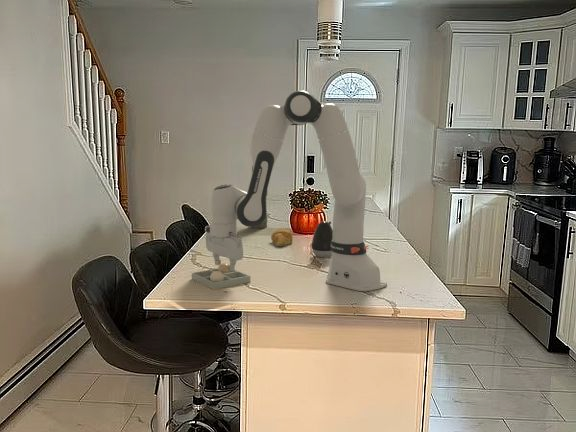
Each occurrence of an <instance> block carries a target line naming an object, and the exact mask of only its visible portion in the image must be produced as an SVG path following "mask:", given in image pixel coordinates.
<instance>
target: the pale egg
mask: <svg viewBox="0 0 576 432" xmlns="http://www.w3.org/2000/svg"><path fill="white" fill-rule="evenodd" d="M210 281H212V282H218V281H224V275H223V273H221V272H220V271H214V272H213V273H212V274H211V275H210Z"/></svg>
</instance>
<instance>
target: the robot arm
mask: <svg viewBox="0 0 576 432" xmlns="http://www.w3.org/2000/svg"><path fill="white" fill-rule="evenodd" d="M284 102H285V103H284V104H283V105H276V104H268V105H265V106H264V107H263V108H262V109H261V111H260V113H259V116H258V118H257V120H256V123H255V125H254V129H253V132H252V135H251V141H250V149H249V150H250V155H251V159H252V166H253V172H252V171H251V177H250V181H249V185H248V189H247V191H244V190H242V189H240V188H238V187H236V186H235V185H234V184H230V183H228V184H222V185H218V186H216V187H215V188H214V189H213V190H212V194H211V206H210V207H211V213H212V217H211V218H212V219H211V224H210V225H206V226H204V227H205V228H204V232H206V233H205V247H206V250H207V251H208V252H211V253H212V257H213V260H214V265H215V266H220V265H221V264H222V263H221V262H222V260H221V259H220V258H221V257H223V258H226V259H228V260H229V264H228V265H229V266H228V270H230V271H234V270H236V269H235V266H236V264H237V262H238V261H242V260H243V258H244V247H243V245H244V244H243V241H242V239H241V238H240V236H239V234H238V233H237V230H238V228H237V225H238V224H237V221H239V223H240V224H242V225H243V226H245V227H248V228H252V227H255V226H258V225H260V224H261V223H262V222H263V221H264V220H265V218H266V214H267V203H266V204H265V197H266V198H267V196H266V192H267V193H268V187H269V184H270V180H271V176H272V173H273V168H274V167H275V164H276V163H277V159H278V157H279V155H280V152H281V150H282V147H283V143H284V140H285V137H286V133H287V130H288V129H289V127H291V126H302V125H303V126H304V125H307V124H310V125H312V127H313V128H314V130H315V133H316V135H317V139H318V143H319V145H320V150H321V153H322V156H323V159H324V163H325V167H326V172H327V176H328V177H327V178H328V182H329V186H330V189H331V194H332V196H333V198H334V207H333V217H332V230H333V238H332V241H331V251H332V255H331V256H330V259H329V264H328V265H329V266H328V273H327V275H326V281H325V283H327V284H328V285H329V284H330V285H333V286H338V287H342V288H345V289H350V290H352V291H357V292H368V291H369V292H370V291H375V290H380V289H382V288H384V287H387V285H388V282H387V281H385V280H383V279H381V271H380V268H379V266H378V265H377V263H376V262H374V260H373V259H372V257H370V256H369V255H368V253H367V250H369V247H370V245H366V244H365V241H364V225H365V209H366V193H367V183H366V180H365V177H364V176H363V175H362V174H361V172H360V171H361V170H360V167H359V163H358V160H357V159H358V158H357V154H356V151H355V147H354V143H353V141H352V138H351V134H350V131H349V128H348V127H349V126H348V124H347V122H346V119H345V117H344V115H343V112H342V111H341V109H340V107H339V106H338V105H337V104H334V103H325V104H322V103H321V102H320V101H319V100H318V99H317V98H315V96H314V95H312V93H310V92H308V91H307V90H296V91H293V92H291V93H290V94H289V95H288V96H287V98H286V100H285V101H284ZM220 256H221V257H220Z"/></svg>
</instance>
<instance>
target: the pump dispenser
mask: <svg viewBox="0 0 576 432" xmlns="http://www.w3.org/2000/svg"><path fill="white" fill-rule="evenodd" d="M315 227H316V228H315V230H314V232H313V236H312V242H311V249H312V253H313V254H314V255H315V256H316V257H317V258H321V259H326V258H331V255H332V251H331V241H332V238H333V226H332V222H331V221H325V220H322V221H320V222H319V223H318V224H317V226H315Z"/></svg>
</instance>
